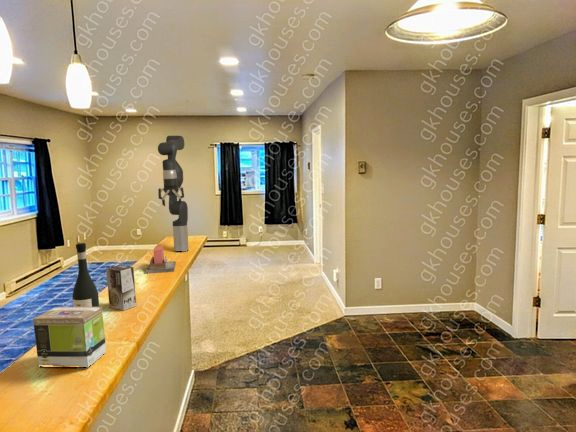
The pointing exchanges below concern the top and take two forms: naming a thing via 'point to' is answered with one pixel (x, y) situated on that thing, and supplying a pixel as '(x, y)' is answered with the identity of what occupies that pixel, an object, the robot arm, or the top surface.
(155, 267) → the book rack
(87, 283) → the wine bottle
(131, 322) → the top surface
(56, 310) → the tea box
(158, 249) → the book
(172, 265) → the bookend
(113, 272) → the coffee box
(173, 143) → the robot arm
